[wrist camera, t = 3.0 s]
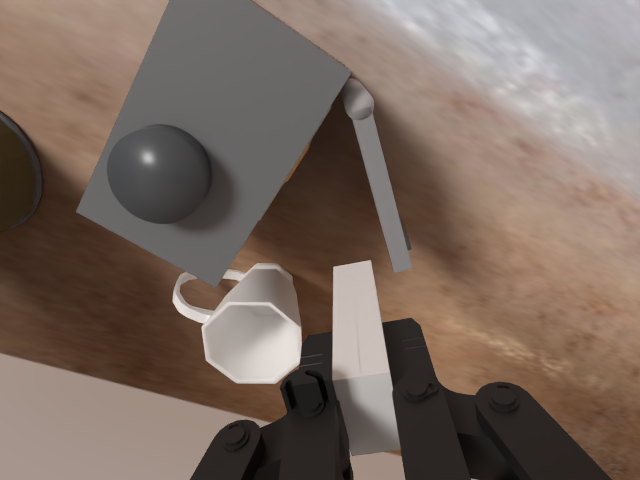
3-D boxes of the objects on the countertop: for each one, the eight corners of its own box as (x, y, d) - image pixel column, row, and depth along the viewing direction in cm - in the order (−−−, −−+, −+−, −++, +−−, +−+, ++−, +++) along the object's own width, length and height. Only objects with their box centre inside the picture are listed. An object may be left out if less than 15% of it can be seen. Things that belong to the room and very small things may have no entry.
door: (375, 217, 33) (391, 273, 24) (338, 82, 29) (341, 95, 21) (395, 211, 32) (417, 267, 24) (360, 75, 29) (372, 85, 20)
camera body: (155, 161, 32) (58, 222, 21) (239, -9, 28) (176, -50, 16) (254, 219, 34) (215, 306, 23) (349, 68, 30) (361, 80, 18)
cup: (293, 331, 38) (284, 399, 31) (181, 292, 37) (143, 353, 29) (323, 264, 35) (322, 321, 28) (204, 220, 34) (169, 267, 27)
